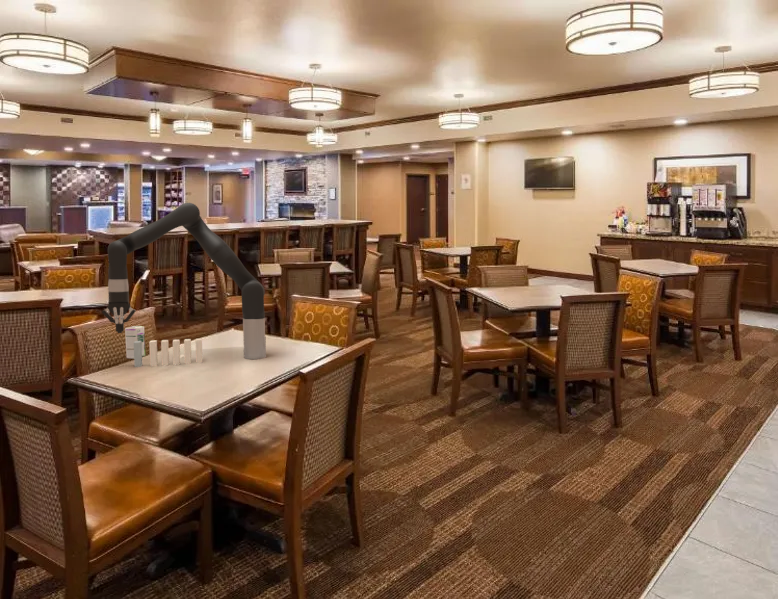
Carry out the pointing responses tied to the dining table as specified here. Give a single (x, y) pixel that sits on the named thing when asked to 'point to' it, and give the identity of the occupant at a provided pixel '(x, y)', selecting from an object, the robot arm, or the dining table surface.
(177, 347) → the domino
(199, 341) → the domino
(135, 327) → the syrup box
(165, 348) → the domino
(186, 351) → the domino
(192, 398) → the dining table surface
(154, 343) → the domino
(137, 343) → the domino
